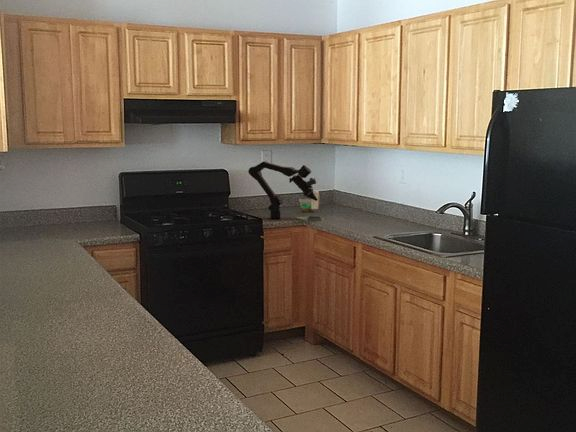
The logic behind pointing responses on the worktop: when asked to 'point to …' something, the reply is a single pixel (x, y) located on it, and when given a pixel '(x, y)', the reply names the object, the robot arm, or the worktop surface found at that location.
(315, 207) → the plug
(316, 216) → the board
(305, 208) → the food container
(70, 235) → the worktop surface
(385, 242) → the worktop surface
